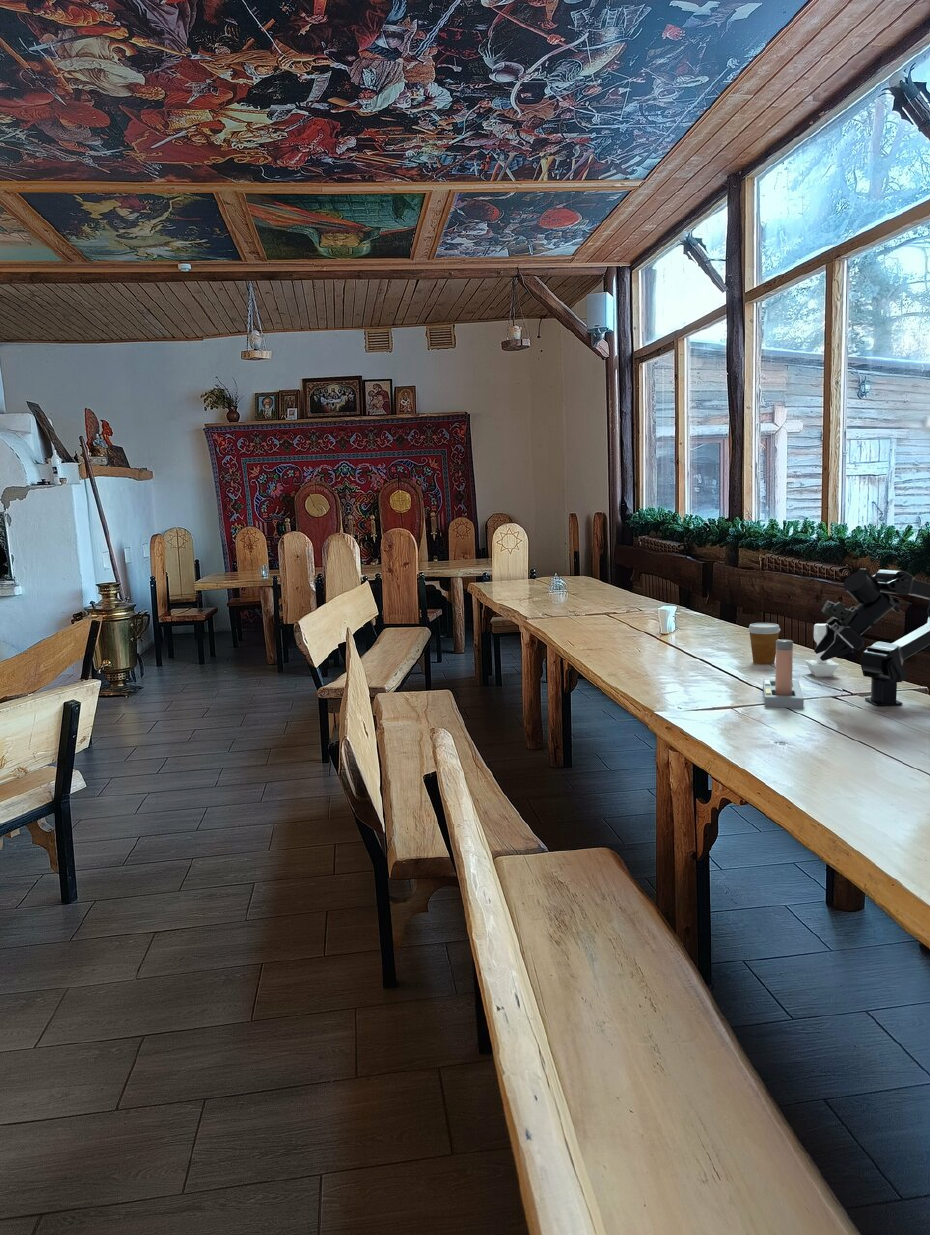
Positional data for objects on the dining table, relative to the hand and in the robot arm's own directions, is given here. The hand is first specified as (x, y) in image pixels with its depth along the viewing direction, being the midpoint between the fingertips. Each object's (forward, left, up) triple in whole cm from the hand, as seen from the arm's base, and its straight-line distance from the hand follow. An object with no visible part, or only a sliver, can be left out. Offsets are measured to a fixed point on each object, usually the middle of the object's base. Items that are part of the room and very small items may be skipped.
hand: (818, 655), depth 201 cm
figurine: (+30, -14, -12) cm, 35 cm away
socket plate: (+7, +6, -12) cm, 15 cm away
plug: (+2, +8, -12) cm, 15 cm away
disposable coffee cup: (+49, -4, -12) cm, 51 cm away
